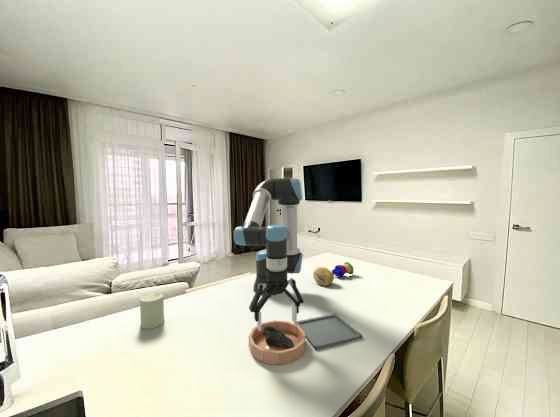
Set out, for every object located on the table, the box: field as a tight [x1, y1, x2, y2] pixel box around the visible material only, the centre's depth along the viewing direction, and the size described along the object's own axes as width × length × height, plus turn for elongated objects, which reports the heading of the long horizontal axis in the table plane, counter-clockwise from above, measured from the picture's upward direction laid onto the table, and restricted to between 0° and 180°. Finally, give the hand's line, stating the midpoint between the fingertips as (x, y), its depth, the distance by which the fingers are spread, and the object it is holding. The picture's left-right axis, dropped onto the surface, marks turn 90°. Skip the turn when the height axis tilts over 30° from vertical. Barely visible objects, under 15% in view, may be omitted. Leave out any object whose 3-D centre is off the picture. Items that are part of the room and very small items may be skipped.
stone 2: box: [312, 266, 335, 287], centre depth 151 cm, size 13×10×10 cm
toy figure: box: [331, 261, 354, 278], centre depth 165 cm, size 9×10×15 cm
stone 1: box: [263, 326, 295, 349], centre depth 88 cm, size 7×13×5 cm, turn 54°
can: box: [139, 292, 165, 330], centre depth 105 cm, size 9×9×12 cm
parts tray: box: [293, 313, 363, 351], centre depth 98 cm, size 18×20×1 cm
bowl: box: [248, 319, 306, 366], centre depth 89 cm, size 20×20×4 cm
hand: (277, 325), depth 89 cm, fingers open, 13 cm apart
